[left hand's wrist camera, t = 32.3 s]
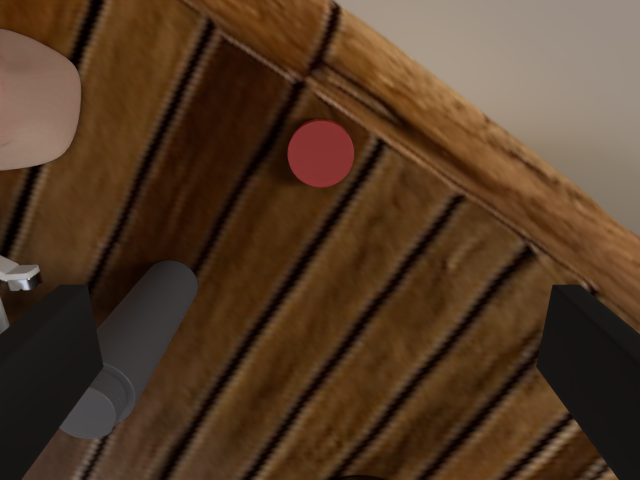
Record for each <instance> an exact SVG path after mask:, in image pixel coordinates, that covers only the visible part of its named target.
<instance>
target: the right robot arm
mask: <svg viewBox="0 0 640 480" xmlns="http://www.w3.org/2000/svg"><path fill="white" fill-rule="evenodd" d="M0 280H3V281H6V282H8V285H9V288H10V291H19V290H20V289H23V290H31V289H34V288H35V287H37V285H38V284H41V283H42V282H43V281H42V277H41V273H40V270H39V267H38V265H19V264H17V263H15V262H13V261H11V260H9V259H7V258H5V257H3V256H1V255H0ZM9 326H10V324H9V321H8V318H7V315H6V312H5V309H4V306H3V303H2V300H1V297H0V334H1V333H2V332H3V331H5V330H6V329H7V328H8V327H9Z"/></svg>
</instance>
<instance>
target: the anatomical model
mask: <svg viewBox="0 0 640 480" xmlns="http://www.w3.org/2000/svg"><path fill="white" fill-rule="evenodd" d="M80 104H81V83H80V78H79V74H78V71H77V69H76V68H75V66H74V65H73V64H72V63H71V62H70V61H69V60H68V59H67V58H66V57H64V56H63V55H61V54H60V53H58V52H56V51H55V50H53V49H51V48H49V47H47V46H45V45H43V44H42V43H40V42H38V41H36V40H34V39H31V38H29V37H26V36H24V35H21V34H18V33H15V32H12V31H9V30H4V29H0V171H1V170H10V169H18V168H25V167H31V166H36V165H40V164H43V163H47V162H49V161H52V160H54V159H56V158H58V157H59V156H61V155H62V154H63V153H64V152H65V151H66V150H67V149H68V147H69V146H70V144H71V142H72V140H73V137H74V135H75V132H76V129H77V125H78V120H79V113H80Z"/></svg>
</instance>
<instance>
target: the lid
mask: <svg viewBox="0 0 640 480" xmlns="http://www.w3.org/2000/svg"><path fill="white" fill-rule="evenodd" d="M288 144H289V146H288V154H287V156H288V162H289V165H290V168H291V170H292V171H293V173H294V174H295V176H296V177H297V178H298V179H299V180H301V181H302V182H304V183H305V184H307V185H310V186H314V187H328V186H331V185H334V184H336V183H338V182H339V181H341V180H342V179H343V178H344V177H345V176H346V175H347V174H348V172H349V171H350V169H351V167H352V164H353V160H354V148H353V147H354V145H353V143H352V141H351V139H350V137H349V133H348V132H346V130H345V129H344V128H343V127H342V126H341V125H340V123H339V124H338V123H336V122H334V121H332V120H329V118H328V119H322V118H320V119H317V118H315V119H313V120H310V121H307V122H304V124H302V125H301V126H300V127H299V128H298V129H297V130H295V131H294V134H293V136H292V138H291V140H290V141H289V143H288Z"/></svg>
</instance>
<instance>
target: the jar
mask: <svg viewBox="0 0 640 480" xmlns="http://www.w3.org/2000/svg"><path fill="white" fill-rule="evenodd" d="M197 291H198V283H197V279H196V277H195V275H194V273H193V272H192V271H191V270H190V269H189V268H188V267H187V266H186V265H184V264H182V263H180V262H177V261H172V260H165V261H160V262H158V263H156V264H154V265H153V266H152V267H150V269H149V270H148V271H147V272H146V273H145V274H144V276H143V277H142V278H141V279H140V280H139V281H138V282H137V284H136V285H135V286H134V287H133V288H132V289H131V291H130V292H129V293H128V294H127V295H126V296H125V298H124V299H123V300H122V301H121V302H120V303H119V304H118V306H117V307H116V308H115V309H114V310H113V311H112V313H111V314H110V315H109V316H108V317H107V318H106V320H105V321H104V322H103V323H102V324H101V325H100V327H99V328H98V329H97V330H96V331H97V336H98V341H99V346H100V351H101V356H102V361H103V365H104V367H103V368H102V370H101V371H100V373H99V374H98V375H97V377H96V378H95V379H94V381H93V382H92V383H91V385H90V386H89V388H88V389H87V390H86V392H85V393H84V394H83V396H82V397H81V399H80V400H79V401H78V403H77V404H76V405H75V407H74V408H73V409H72V411H71V412H70V414H69V415H68V416H67V418H66V419H65V420H64V422H63V423H62V425H61V426H60V427H59V428H60V429H61V430H63V431H64V432H66V433H68V434H70V435H72V436H75V437H79V438H87V439H91V438H100V437H102V436H106V435H107V434H109V433H110V432H111V431H112V430H113V429H112V428H113V426H114V425H116V424H117V422H120V421H122V420H123V419H125V418H126V417H127V416H128V415H129V414H130V413H131V412H132V410H133V408H134V407H135V405H136V403H137V401H138V399H139V398H140V396H141V394H142V392H143V390H144V389H145V387H146V385H147V383H148V381H149V380H150V378H151V376H152V374H153V372H154V370H155V369H156V367H157V365H158V363H159V361H160V360H161V358H162V356H163V354H164V352H165V351H166V349H167V347H168V345H169V343H170V342H171V340H172V338H173V336H174V334H175V332H176V331H177V329H178V327H179V325H180V323H181V322H182V320H183V318H184V316H185V314H186V313H187V311H188V309H189V307H190V305H191V304H192V302H193V300H194V298H195V296H196V294H197Z"/></svg>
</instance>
